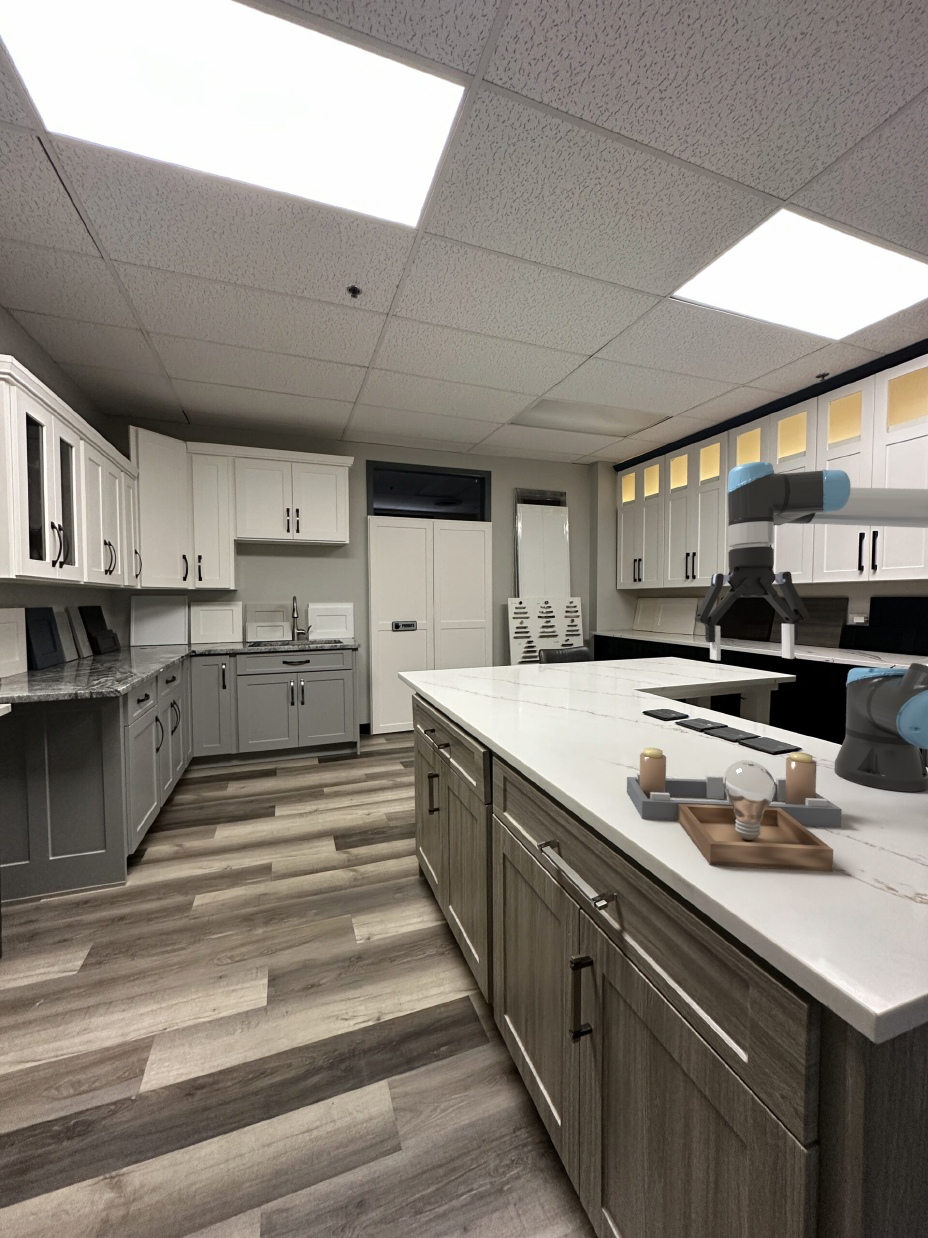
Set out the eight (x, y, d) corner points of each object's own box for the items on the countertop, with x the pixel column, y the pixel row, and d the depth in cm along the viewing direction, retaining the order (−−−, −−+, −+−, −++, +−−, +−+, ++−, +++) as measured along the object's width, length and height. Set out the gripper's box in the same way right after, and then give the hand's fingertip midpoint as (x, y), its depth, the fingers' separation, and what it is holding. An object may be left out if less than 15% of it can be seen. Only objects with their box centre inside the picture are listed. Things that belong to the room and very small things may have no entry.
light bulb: (782, 853, 73) (784, 770, 73) (729, 848, 74) (731, 767, 74) (764, 832, 80) (766, 756, 79) (716, 827, 81) (717, 753, 81)
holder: (800, 798, 95) (800, 777, 94) (841, 827, 83) (841, 803, 83) (626, 792, 98) (627, 771, 98) (642, 818, 86) (642, 795, 86)
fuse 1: (661, 801, 93) (662, 747, 93) (668, 811, 89) (669, 754, 89) (636, 800, 94) (637, 746, 94) (642, 809, 90) (643, 753, 89)
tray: (779, 826, 83) (780, 808, 83) (832, 871, 69) (833, 849, 69) (678, 821, 85) (678, 803, 85) (710, 865, 71) (710, 844, 71)
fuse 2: (806, 806, 91) (807, 751, 91) (820, 817, 87) (822, 759, 86) (780, 805, 91) (781, 750, 91) (793, 816, 87) (794, 758, 87)
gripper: (805, 547, 100) (806, 655, 101) (676, 551, 101) (677, 658, 102) (831, 543, 92) (832, 659, 93) (691, 547, 93) (693, 662, 94)
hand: (751, 659), depth 97 cm, fingers open, 13 cm apart
